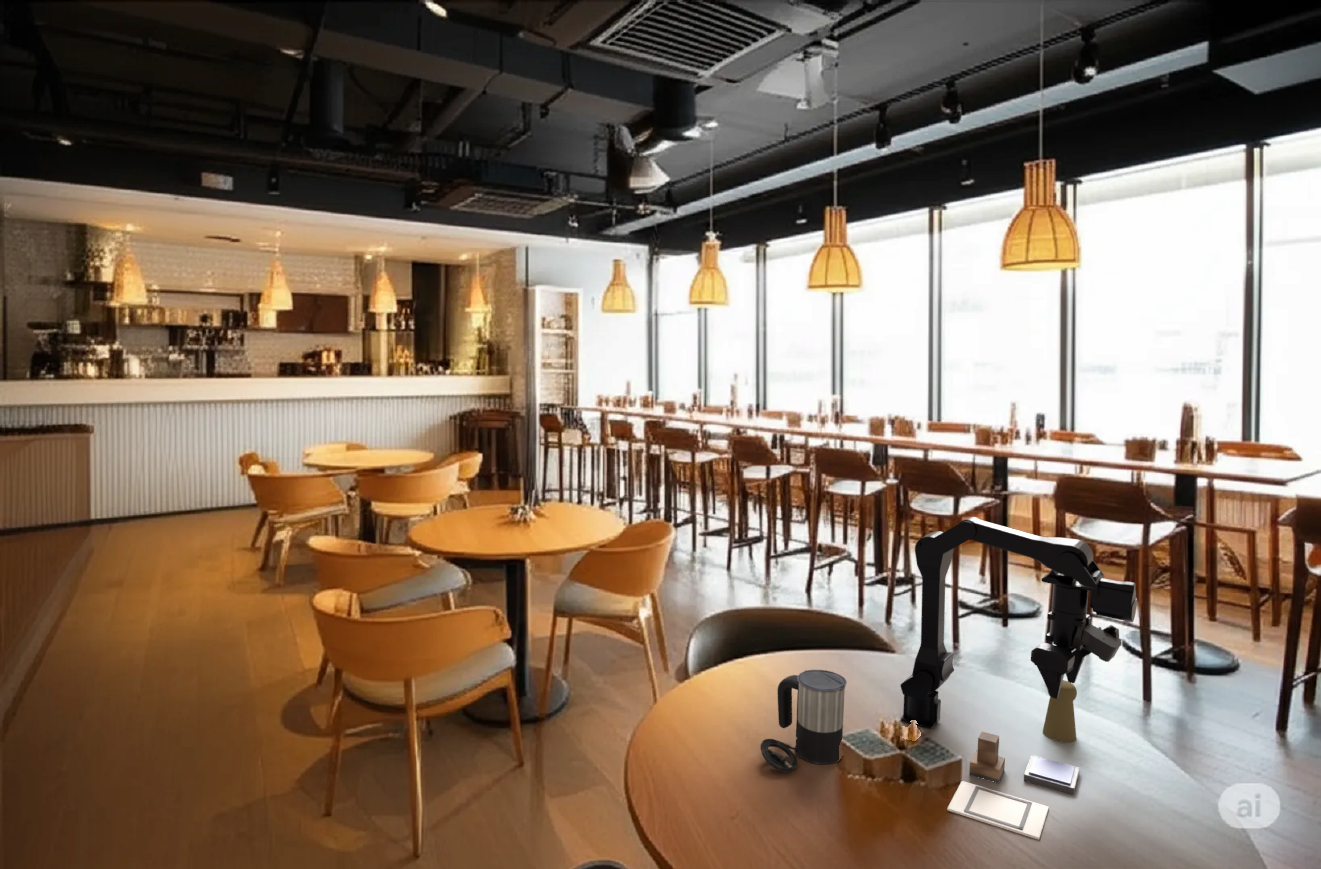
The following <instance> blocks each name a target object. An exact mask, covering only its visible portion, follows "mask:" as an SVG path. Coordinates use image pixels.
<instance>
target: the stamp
mask: <svg viewBox="0 0 1321 869" xmlns="http://www.w3.org/2000/svg"><path fill="white" fill-rule="evenodd" d="M999 749H1000V735H997V734H994V733H990V732H985V731H981V732H980V734H979V736H978V737H977V750H976V749H975V752H974V754H973V756H972V757H971V759H970V761H969V776H971V777H975V778H978V777H979V778H978V779H981V778H984V779H985V781H988V780H989V781H988V782H991V781H994V782H993V783H995V782H996V783H995V784H1000V782H1001V779H1002V778H1001V777H1003V775H1004V773H1005V766H1006V765H1005V764H1006V757H1003V756H1000V755H999ZM1003 772H1004V773H1003ZM984 779H983V780H984Z"/></svg>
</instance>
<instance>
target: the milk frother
mask: <svg viewBox="0 0 1321 869" xmlns="http://www.w3.org/2000/svg"><path fill="white" fill-rule="evenodd" d="M847 683H848V682H847V680H846V677H844V676H843V675H841V674H839V673H837V672H834V671H830V670H826V669H808V670H806V669H805V670H804V671H802V672H800V673H799V674H793V675H789V676H786V677H785V678H783V679H782V680H781V681H780V682H779V684H778V686H777V710H778V711H777V714H778V726H779V727H780V728H782V729H786V728H788V727H790V726H791V725H792V723H793V689H794V690H797V699H796V700H797V701H796V702H797V703H796V723H795V724H796V727H795V728H796V729H795V737H796V739H795V746H794V747H793V746H790V745H789V744H787V743H784V742H783V741H780V740H777V739H774V738H766V739H763V740H762V741H761V743H760V747H759V748H760V752H761V755H762V757H763V759H764V760H765V761H766V762H765V763H767V764H768V765H769V766H770V767H772V768H774V769H776V770H777V771H780V772H785V773H787V772H788V773H789V772H793V771H794V770H795V769H796V768H797V766H798V763H799V762H798V759H797V756H798V757H799V758H801V759H803V760H805V761H807V762H810V763H812V764H817V765H831V764H832V765H833V764H836V763H838V762H839V761H838V760H839V745H840V742H841V740H842V738H843V734H844V732H843V731H844V729H843V728H844V714H845V713H844V712H845V709H844V708H845V690H846V686H847ZM772 747H773V748H777V749H779V750H781V751H783V752H784V753H785V754H786V755H787V756H784V755H782V754H780V753H779V752H777V751H773V750H772V749H771V748H772ZM792 750H794V751H795V753H796V754H795V753H794V752H793V751H792ZM796 755H797V756H796ZM787 758H789V759H790V763H789V762H788V761H787Z"/></svg>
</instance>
